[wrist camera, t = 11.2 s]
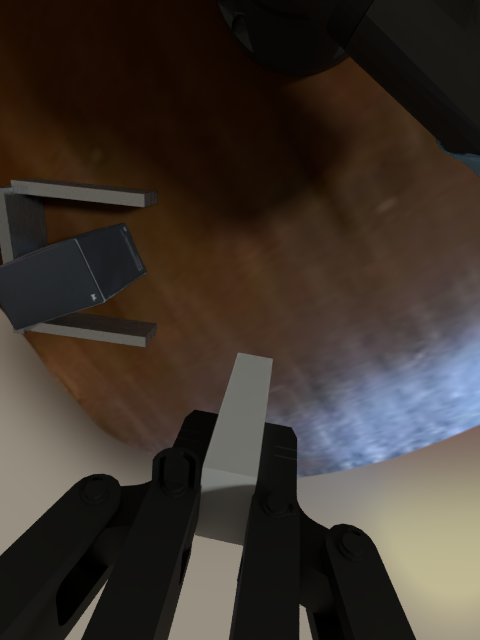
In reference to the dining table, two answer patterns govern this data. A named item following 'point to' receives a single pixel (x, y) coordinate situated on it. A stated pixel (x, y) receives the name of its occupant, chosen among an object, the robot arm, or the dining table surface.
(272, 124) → the dining table surface
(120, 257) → the small box
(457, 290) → the dining table surface
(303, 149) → the dining table surface
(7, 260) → the grey u-shaped bracket
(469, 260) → the dining table surface
